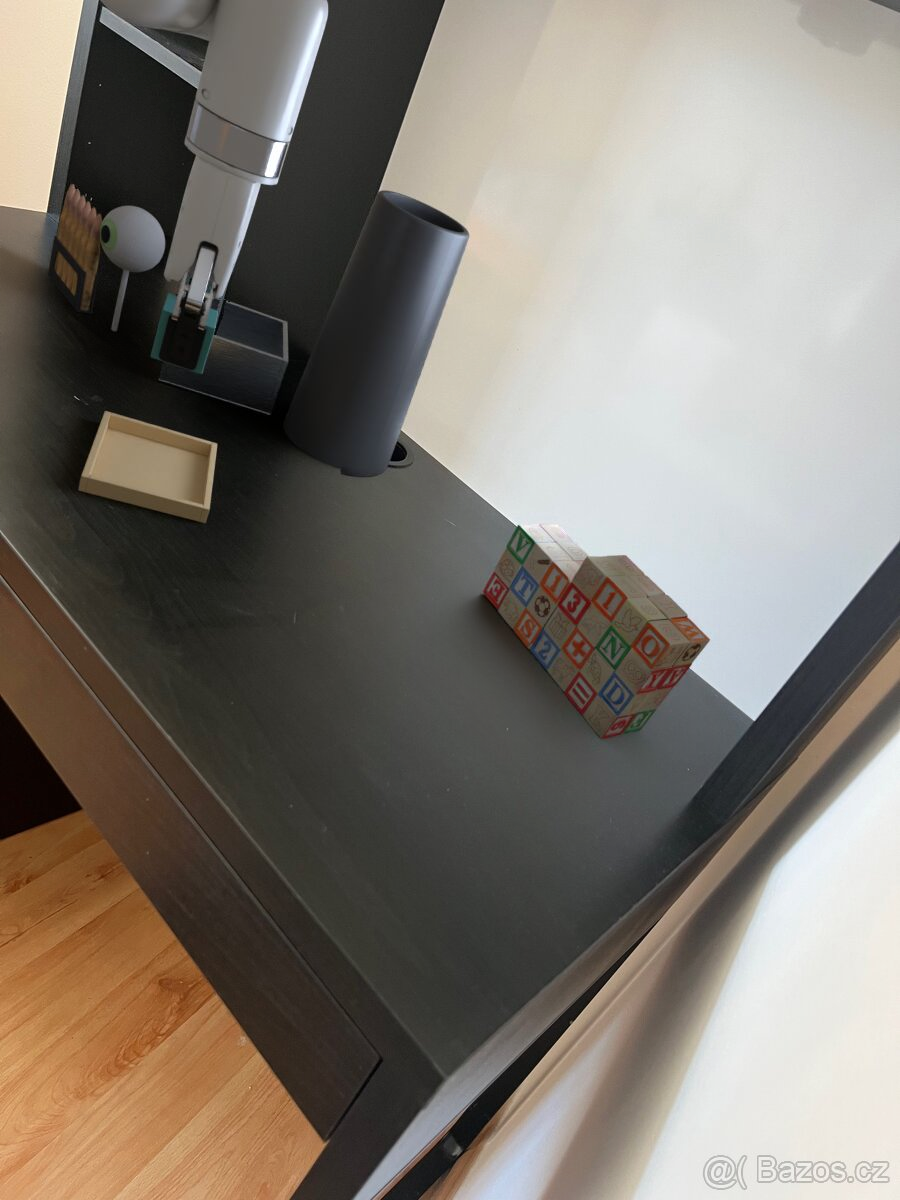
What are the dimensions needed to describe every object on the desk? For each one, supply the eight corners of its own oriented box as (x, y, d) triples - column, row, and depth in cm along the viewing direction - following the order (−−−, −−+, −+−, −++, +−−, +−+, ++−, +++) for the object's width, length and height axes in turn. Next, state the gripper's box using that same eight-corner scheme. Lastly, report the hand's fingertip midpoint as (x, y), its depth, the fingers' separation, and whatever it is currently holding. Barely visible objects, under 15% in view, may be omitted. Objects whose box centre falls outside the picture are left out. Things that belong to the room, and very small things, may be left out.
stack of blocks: (479, 592, 91) (530, 498, 84) (520, 590, 95) (572, 500, 89) (601, 740, 79) (672, 643, 72) (643, 731, 83) (713, 638, 77)
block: (150, 357, 74) (162, 309, 72) (156, 338, 78) (168, 292, 75) (201, 374, 76) (215, 328, 74) (205, 355, 79) (218, 310, 77)
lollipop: (71, 314, 103) (94, 189, 96) (125, 317, 109) (150, 200, 101) (102, 343, 100) (127, 217, 93) (155, 345, 106) (183, 227, 98)
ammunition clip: (47, 273, 110) (62, 179, 103) (62, 275, 111) (77, 182, 105) (77, 312, 104) (94, 215, 98) (92, 314, 106) (110, 218, 99)
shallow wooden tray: (77, 495, 75) (81, 475, 74) (101, 428, 86) (105, 410, 85) (204, 527, 79) (209, 509, 78) (212, 460, 90) (217, 443, 89)
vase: (403, 458, 110) (498, 239, 95) (359, 489, 98) (459, 245, 83) (315, 407, 111) (395, 183, 96) (260, 431, 99) (342, 181, 84)
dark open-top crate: (156, 385, 98) (172, 322, 94) (168, 342, 108) (182, 284, 104) (269, 419, 103) (288, 361, 99) (269, 376, 113) (287, 321, 109)
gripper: (197, 106, 72) (148, 305, 82) (178, 144, 59) (122, 376, 69) (283, 144, 75) (226, 333, 85) (282, 189, 62) (215, 406, 71)
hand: (180, 350), depth 76 cm, fingers closed on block, 4 cm apart
